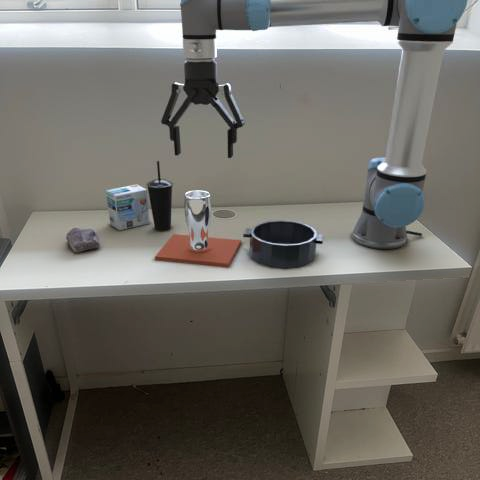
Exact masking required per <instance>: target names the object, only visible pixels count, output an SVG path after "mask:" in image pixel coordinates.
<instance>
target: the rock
mask: <svg viewBox="0 0 480 480" xmlns="http://www.w3.org/2000/svg"><path fill="white" fill-rule="evenodd" d="M65 236H66V237H65V239H66V241H67V242H68V244H69V246H70V248H71V250H72V251H73V252H74V253H76V254H77V253H82V252H84V251H85V252H86V251H87V250H93V249H97V248H99V247H100V245H101V241H100V238H99V234H98V232H97V231H95V229H92V228H85V229H84V228H79V227H73V228H72V229H70V230H69V231H68V232H67V233H66V235H65Z"/></svg>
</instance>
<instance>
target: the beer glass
mask: <svg viewBox="0 0 480 480" xmlns="http://www.w3.org/2000/svg"><path fill="white" fill-rule="evenodd" d="M184 217H185V222H186V227H187V230H188V231H187V232H188V235H189V245H188V249H189V250H190V251H192V252H206V251H208V250H209V249H210V242H209V237H210V227H211V222H212V221H211V220H212V200H211V193H210V192H209V191H205V190H190V191H187V192H186V193H184Z"/></svg>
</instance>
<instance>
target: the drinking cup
mask: <svg viewBox="0 0 480 480" xmlns="http://www.w3.org/2000/svg"><path fill="white" fill-rule="evenodd" d="M156 168H157V178H154V179H151V180H149V181H148V182H146V188H147V193H148V197H149V202H150V209H151V215H152V220H153V226H154V230H155V231H158V232H167V231H169V230H171V228H172V207H173V206H172V204H173V203H172V202H173V187H174V182H173V181H172V180H168V179H167V178H161V169H160V168H161V167H160V160H156Z"/></svg>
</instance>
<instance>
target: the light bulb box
mask: <svg viewBox="0 0 480 480" xmlns="http://www.w3.org/2000/svg"><path fill="white" fill-rule="evenodd" d="M105 193H106V201H107V210H108V219H109V225H110V226H112V227H114V228H115V229H116V230H118V231H124V230H128V229H131V228H137V227H140V226H144V225H148V224H150V213H149V211H150V210H149V200H148V189H146V188H144V187H142V186H140V185H139V184H138V183H137V184H132V185H131V184H130V185H127V186H122V187H117V188H111V189H106V190H105Z"/></svg>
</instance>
